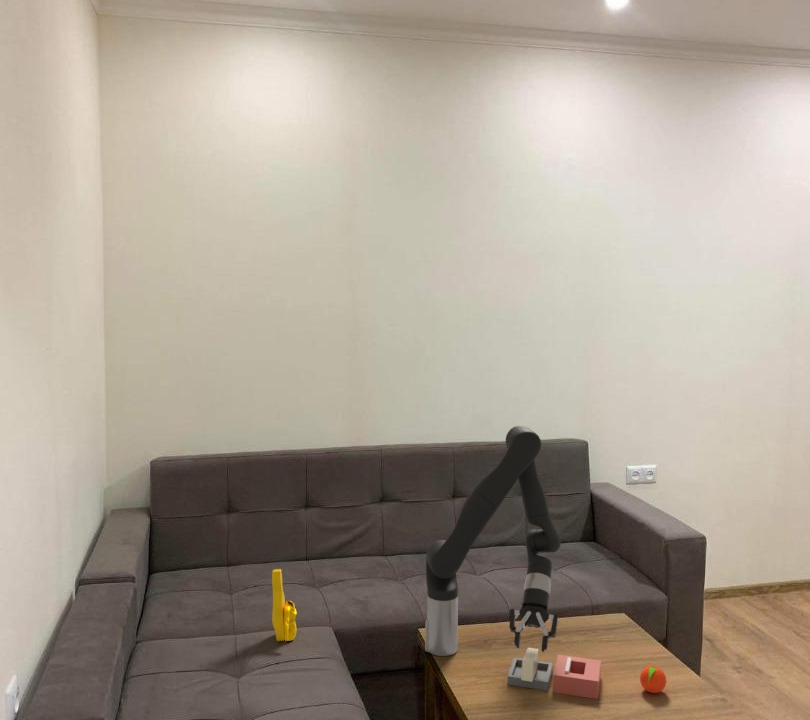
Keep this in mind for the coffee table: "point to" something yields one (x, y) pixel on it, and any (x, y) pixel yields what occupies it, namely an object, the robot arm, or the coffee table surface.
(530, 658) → the tall beige block
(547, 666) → the tray
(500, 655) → the coffee table surface
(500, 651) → the coffee table surface
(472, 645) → the coffee table surface
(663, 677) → the clementine
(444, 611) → the robot arm
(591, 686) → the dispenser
